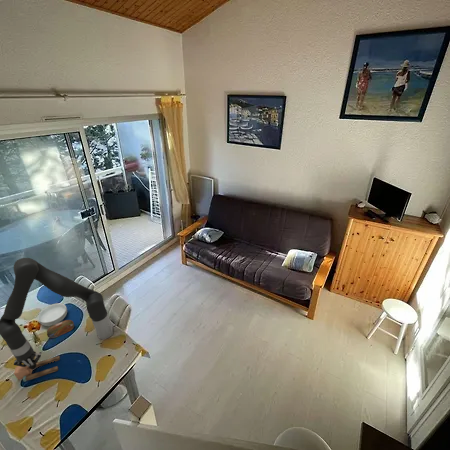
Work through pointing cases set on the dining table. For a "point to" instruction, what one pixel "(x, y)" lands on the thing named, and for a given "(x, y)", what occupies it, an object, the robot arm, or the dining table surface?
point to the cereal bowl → (52, 314)
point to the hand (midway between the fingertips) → (33, 367)
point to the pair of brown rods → (44, 370)
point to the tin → (60, 328)
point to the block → (22, 372)
